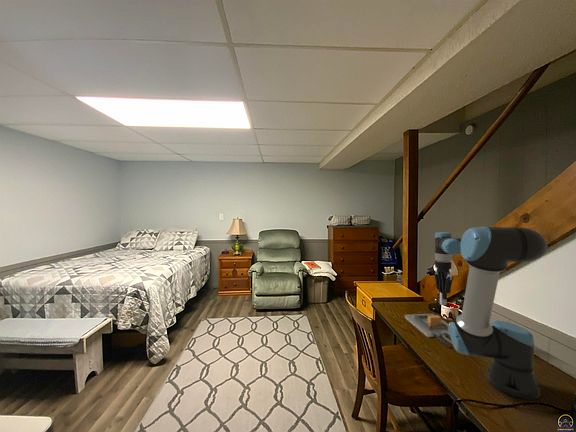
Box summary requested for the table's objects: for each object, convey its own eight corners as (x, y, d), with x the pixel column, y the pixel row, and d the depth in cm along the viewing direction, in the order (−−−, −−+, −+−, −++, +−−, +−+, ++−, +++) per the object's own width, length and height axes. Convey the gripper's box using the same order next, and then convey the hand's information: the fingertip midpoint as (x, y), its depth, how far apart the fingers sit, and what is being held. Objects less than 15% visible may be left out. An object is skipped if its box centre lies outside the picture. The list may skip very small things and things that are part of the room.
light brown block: (441, 326, 140) (441, 317, 140) (430, 326, 140) (430, 317, 140) (437, 323, 143) (437, 315, 143) (427, 324, 143) (427, 315, 143)
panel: (460, 335, 134) (460, 329, 133) (427, 337, 133) (427, 330, 133) (432, 316, 158) (432, 311, 157) (404, 317, 157) (404, 312, 157)
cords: (464, 347, 122) (464, 345, 122) (448, 348, 122) (448, 346, 122) (448, 336, 133) (448, 334, 133) (434, 336, 133) (434, 334, 133)
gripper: (458, 263, 126) (458, 309, 127) (441, 258, 139) (441, 299, 140) (444, 263, 126) (444, 309, 127) (428, 258, 139) (428, 300, 140)
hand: (443, 304), depth 133 cm, fingers closed
